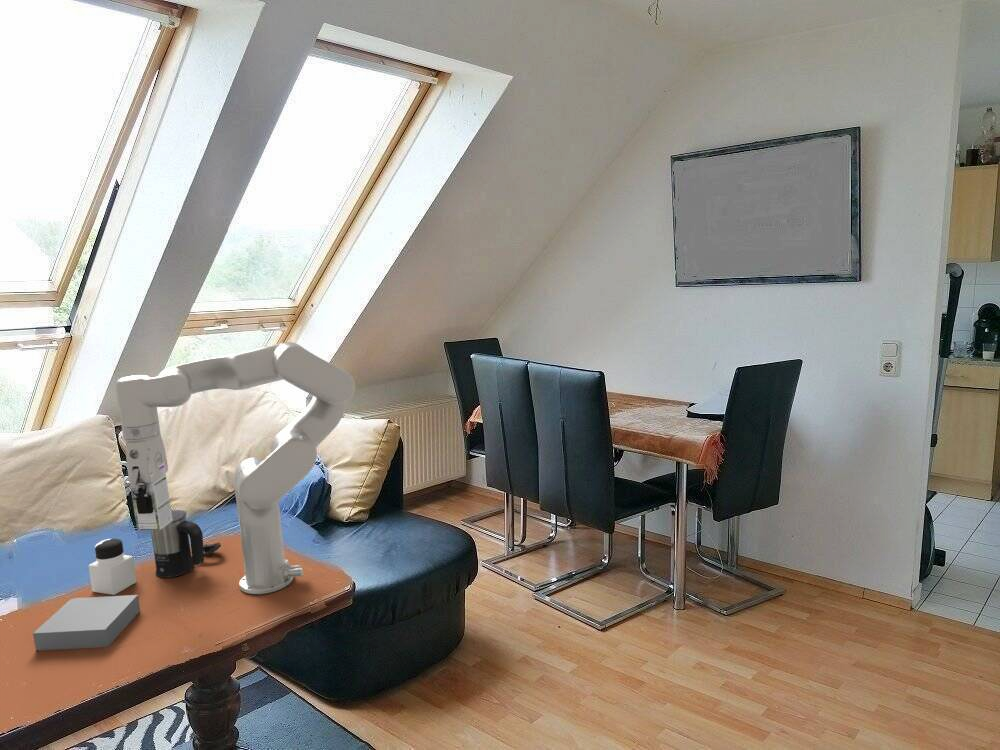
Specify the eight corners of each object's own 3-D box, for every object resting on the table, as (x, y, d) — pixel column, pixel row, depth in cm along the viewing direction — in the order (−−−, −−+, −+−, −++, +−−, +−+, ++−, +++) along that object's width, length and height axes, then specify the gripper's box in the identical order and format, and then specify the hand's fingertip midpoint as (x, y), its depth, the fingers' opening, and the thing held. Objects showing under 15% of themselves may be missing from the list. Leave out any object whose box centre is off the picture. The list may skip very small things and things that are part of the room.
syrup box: (173, 520, 171) (165, 460, 168) (159, 531, 165) (151, 469, 162) (150, 521, 171) (141, 461, 168) (135, 531, 165) (126, 469, 163)
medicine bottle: (137, 582, 184) (130, 537, 182) (114, 595, 178) (107, 549, 175) (115, 579, 187) (108, 534, 184) (91, 592, 180) (84, 546, 178)
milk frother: (148, 579, 186) (140, 523, 183) (175, 552, 201) (168, 501, 198) (204, 576, 186) (197, 521, 183) (227, 550, 201) (221, 499, 198)
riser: (140, 610, 170) (137, 594, 169) (108, 646, 155) (105, 629, 154) (74, 614, 169) (71, 598, 169) (35, 650, 155) (32, 633, 154)
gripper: (140, 441, 155) (152, 521, 159) (174, 420, 172) (184, 493, 176) (105, 442, 155) (117, 523, 159) (141, 422, 172) (152, 494, 176)
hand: (152, 506), depth 167 cm, fingers closed on syrup box, 6 cm apart
